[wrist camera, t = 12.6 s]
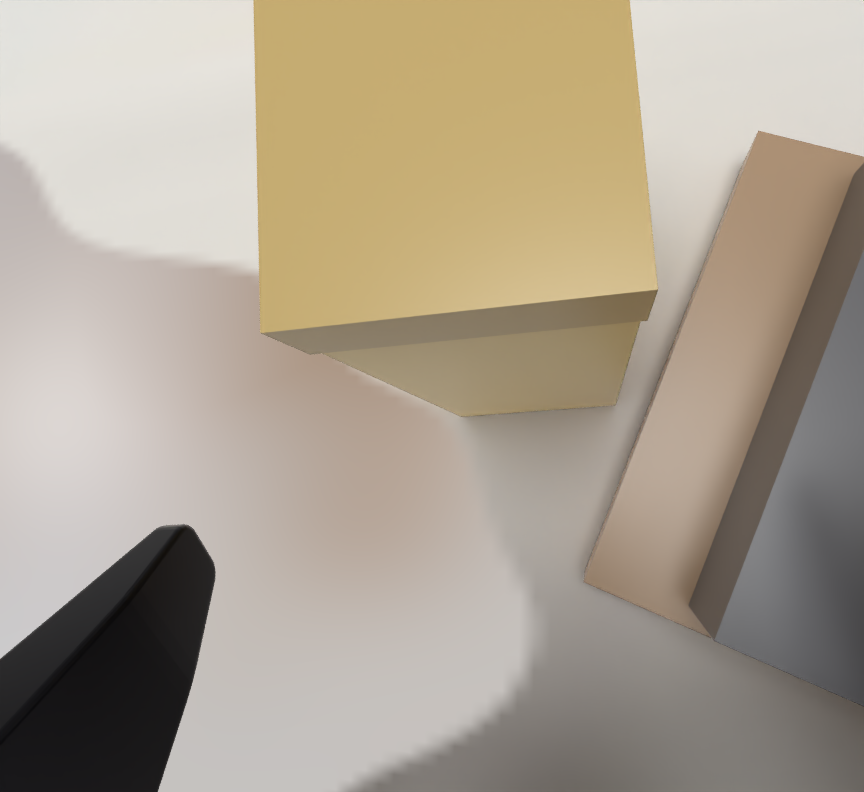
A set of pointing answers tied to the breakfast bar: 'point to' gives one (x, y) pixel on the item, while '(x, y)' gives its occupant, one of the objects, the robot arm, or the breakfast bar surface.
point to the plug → (455, 195)
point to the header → (760, 432)
